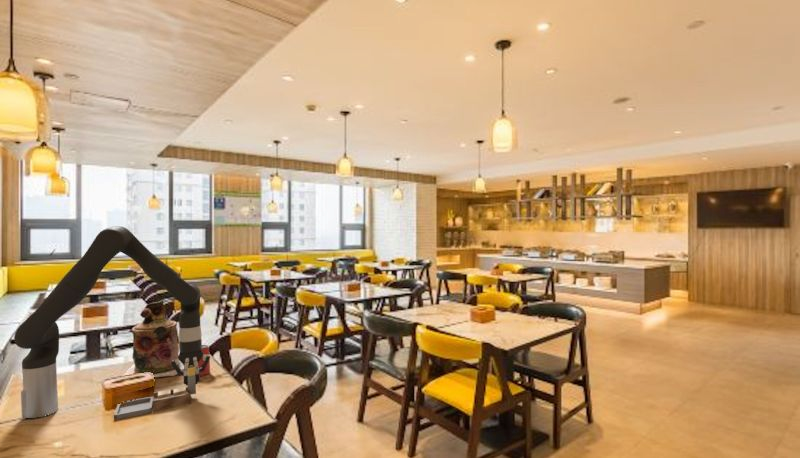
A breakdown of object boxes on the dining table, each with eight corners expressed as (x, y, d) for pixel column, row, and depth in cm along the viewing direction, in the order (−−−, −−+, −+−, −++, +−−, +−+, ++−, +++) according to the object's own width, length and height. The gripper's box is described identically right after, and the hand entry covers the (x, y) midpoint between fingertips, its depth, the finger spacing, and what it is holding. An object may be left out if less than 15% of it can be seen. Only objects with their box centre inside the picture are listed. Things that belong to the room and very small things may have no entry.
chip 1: (157, 401, 153) (157, 395, 153) (158, 397, 156) (158, 391, 156) (170, 399, 155) (170, 393, 155) (170, 395, 158) (170, 389, 158)
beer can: (198, 377, 182) (197, 349, 182) (190, 374, 186) (189, 347, 186) (213, 373, 187) (212, 346, 187) (205, 370, 191) (204, 343, 191)
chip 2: (173, 398, 155) (173, 392, 155) (173, 394, 159) (173, 389, 159) (185, 396, 157) (185, 390, 157) (185, 392, 160) (185, 386, 160)
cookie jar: (134, 365, 201) (131, 298, 201) (191, 359, 209) (189, 294, 208) (116, 383, 178) (113, 307, 177) (181, 376, 185) (178, 302, 184)
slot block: (152, 411, 150) (152, 401, 150) (154, 401, 158) (153, 392, 158) (190, 403, 155) (190, 394, 155) (190, 394, 164) (190, 385, 164)
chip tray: (113, 420, 143) (113, 415, 143) (118, 406, 154) (118, 402, 154) (151, 412, 148) (151, 408, 148) (153, 400, 159) (153, 396, 159)
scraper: (188, 395, 157) (187, 368, 157) (187, 391, 161) (187, 364, 161) (195, 393, 158) (195, 366, 158) (195, 389, 162) (194, 363, 162)
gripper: (169, 343, 153) (170, 391, 153) (211, 337, 159) (212, 383, 160) (169, 338, 160) (170, 384, 160) (210, 333, 166) (211, 377, 166)
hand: (191, 383), depth 160 cm, fingers closed on scraper, 2 cm apart
